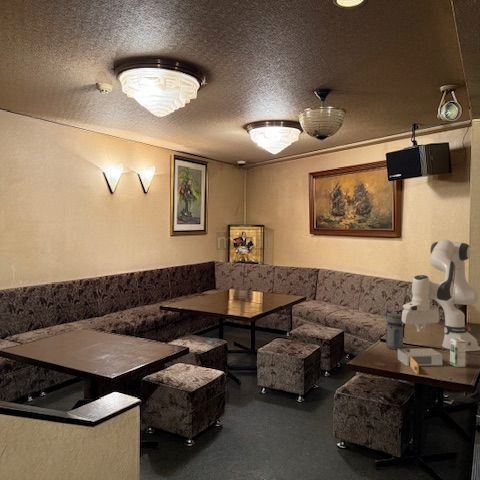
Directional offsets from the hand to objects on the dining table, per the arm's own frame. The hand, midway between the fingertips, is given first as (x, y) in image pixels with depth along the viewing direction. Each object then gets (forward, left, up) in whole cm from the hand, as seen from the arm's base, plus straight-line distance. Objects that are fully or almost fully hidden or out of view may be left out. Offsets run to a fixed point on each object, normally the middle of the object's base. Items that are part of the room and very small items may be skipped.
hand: (420, 331), depth 218 cm
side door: (+4, 0, -21) cm, 21 cm away
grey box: (-5, -12, -21) cm, 25 cm away
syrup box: (-24, -6, -21) cm, 32 cm away
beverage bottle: (-3, -40, -21) cm, 46 cm away
